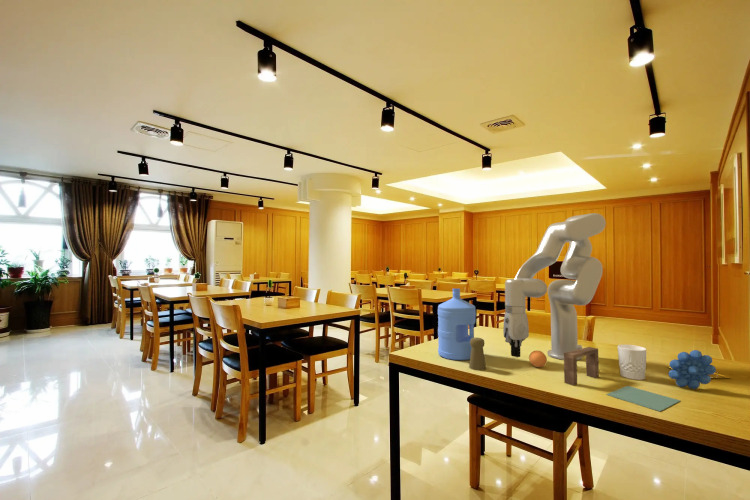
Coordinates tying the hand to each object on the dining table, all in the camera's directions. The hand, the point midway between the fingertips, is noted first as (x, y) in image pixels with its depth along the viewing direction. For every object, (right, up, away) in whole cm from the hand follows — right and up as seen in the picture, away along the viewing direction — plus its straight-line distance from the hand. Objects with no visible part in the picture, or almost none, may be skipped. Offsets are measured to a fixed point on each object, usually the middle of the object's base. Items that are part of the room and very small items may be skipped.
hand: (515, 356), depth 135 cm
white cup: (+32, -1, -19) cm, 37 cm away
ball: (+5, +1, -8) cm, 10 cm away
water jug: (-21, -2, +8) cm, 23 cm away
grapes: (+43, -1, -29) cm, 52 cm away
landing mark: (+22, -1, -37) cm, 43 cm away
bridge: (+13, -1, -22) cm, 26 cm away
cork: (-18, -2, -9) cm, 20 cm away
